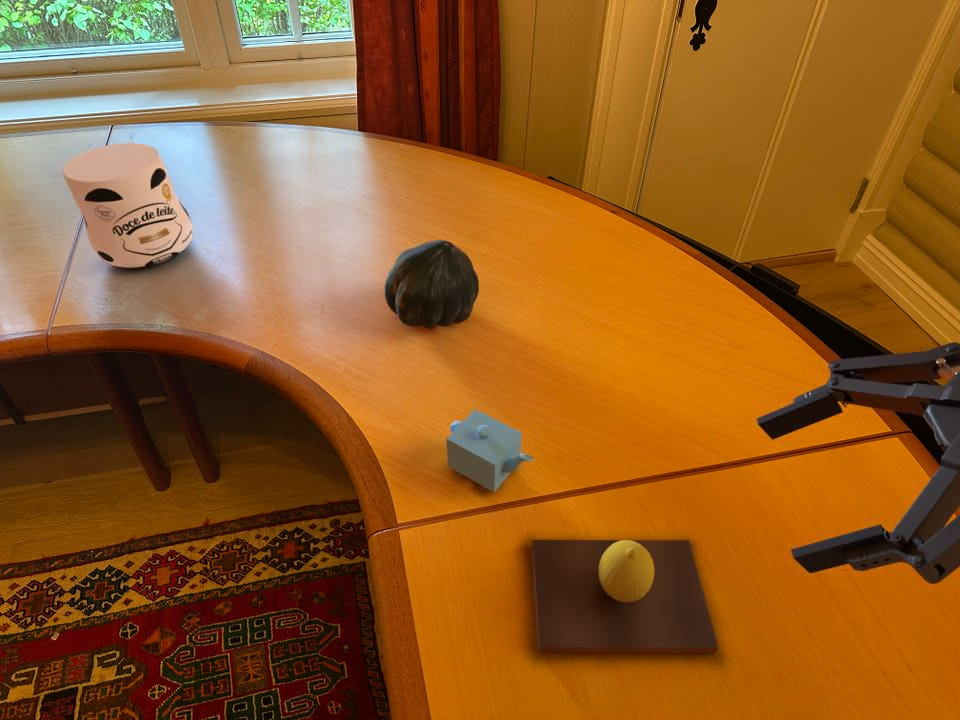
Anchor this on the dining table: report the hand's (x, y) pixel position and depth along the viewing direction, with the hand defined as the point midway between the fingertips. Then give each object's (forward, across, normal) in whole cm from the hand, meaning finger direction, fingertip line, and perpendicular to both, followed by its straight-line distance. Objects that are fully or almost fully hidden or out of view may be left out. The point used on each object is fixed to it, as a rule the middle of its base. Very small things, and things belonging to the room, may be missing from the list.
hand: (780, 489), depth 52 cm
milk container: (+83, +56, +54) cm, 114 cm away
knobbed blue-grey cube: (+33, +14, +4) cm, 36 cm away
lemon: (+21, -1, -6) cm, 22 cm away
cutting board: (+22, -1, -7) cm, 23 cm away
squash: (+42, +44, +14) cm, 63 cm away
